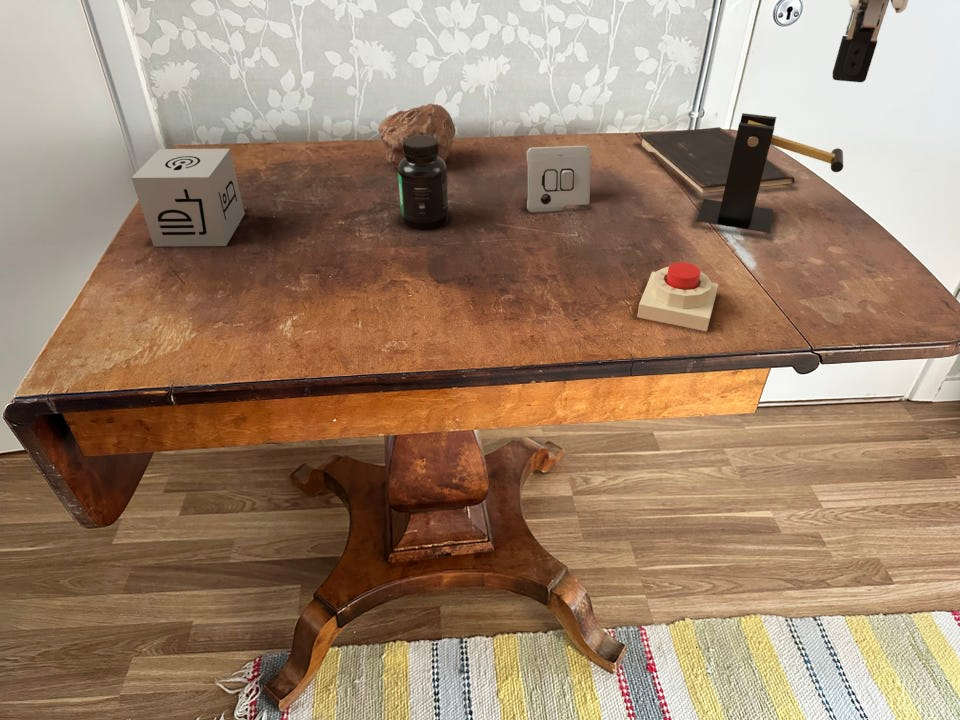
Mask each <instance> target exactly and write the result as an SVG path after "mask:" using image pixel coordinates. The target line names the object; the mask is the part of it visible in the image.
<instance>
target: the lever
mask: <svg viewBox="0 0 960 720" xmlns="http://www.w3.org/2000/svg"><path fill="white" fill-rule="evenodd" d="M747 124H756V125H763V124H760V123H757V122H753V121H750V120H749V121H748V123H747ZM764 126H766V125H764ZM770 146H773V147H777V148H780V149H783V150H787V151H790V152H793V153H796V154H799V155H803V156H805V157H809V158H811V159H814V160H818V161H821V162H823V163H824V162H825V163H827V164H830V170H831V171H832V172H833V173H839V172H842V170H843V168H844V152H843V149H842V148H840V147H839V148H838V147H837V148H834V149H832V150H831V152H830V151H827V150H823V149H820V148H817V147H815V146H814V147H813V146H811V145H807V144H804V143H800V142H797V141H795V140H791V139H788V138H785V137H781V136H778V135H775V134H773V136H772V140H771V144H770Z"/></svg>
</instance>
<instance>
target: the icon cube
mask: <svg viewBox="0 0 960 720" xmlns="http://www.w3.org/2000/svg"><path fill="white" fill-rule="evenodd" d="M131 180H132V183H133V187H134V190H135V193H136V196H137V199H138V203H139V206H140V208H141V212H142V215H143V217H144V221H145V224H146V226H147V230H148V233H149V236H150V239H151V243H152V245H153V246H152V247H154V248H155V247H157V248H158V247H227V246H228V243H229V242H230V240H231V239H232V238H233V235H234V233H235V232H236V230H237V228H238V227H239V225H240V223H241V221H242V220H243V218H244V217H245V215H246V212H245V208H244V204H243V199H242V196H241V190H240V186H239V181H238V177H237V173H236V168H235V165H234V159H233V156H232V150H231V148H158V150H156V152H154V154H152V156H151V157H150V158H148V160H147V161H146V162H145V163H144V164H143V165H142V166H141V167H140V168H139V170H137V171H136V172H135V174H133V176H132V177H131Z"/></svg>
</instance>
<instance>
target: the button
mask: <svg viewBox="0 0 960 720" xmlns="http://www.w3.org/2000/svg"><path fill="white" fill-rule="evenodd" d="M668 267H669V268H668V273H667V279H666V283H667V285H669V286H671V287H673V288H676V289H681V290H692V289H695V288H696V287H697V286H698V282H699V277H700V272H701V270H700V268H698V267H697V266H696V265H695V264H692V263H688V262H675V263H672V264H670V265H669V266H668Z"/></svg>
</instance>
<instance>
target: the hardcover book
mask: <svg viewBox="0 0 960 720" xmlns="http://www.w3.org/2000/svg"><path fill="white" fill-rule="evenodd" d="M639 137H640V138H641V139H642V140H641V145H640V146H641V148H643V149H644V150H645V151H646V152H649V153H655V154H656V155H657V156H658V157H660V158H661V159H662V160H663V161H664V162H666V163H667V164H668V165H669V166H670V167H671V168H672V169H674V170H675V171H676V172H677V173H678V174H679V175H681V176H682V177H683V178H684V180H686V181H687V182H689V183H690V184H691V185H692V186H694V188H696V189H697V190H698V191H699V192H700V193H702V194H707V193H715V192H716V193H717V192H724V189H725V185H726V180H727V176H728V171H729V167H730V162H731V158H732V153H733V149H734V144H735V140H736V136H733V134H731V133H729V132H728V131H726V130H724V128H722V127H720V126H718V127H706V128H697V129H686V130H685V129H684V130H675V131H664V132H663V131H662V132H653V133H642V134H640V135H639ZM794 183H795V177H794V176H792V175H791V174H790V173H788V172H787V171H785V170H784V169H782V168H781V167H779V166H778V165H777V164H775V163H774V162H772V161H771V160H770V159H768V158H767V159H766V163H765V167H764V171H763V175H762V179H761V183H760V187H759V188H761V187H769V186H778V185H788V184H789V185H790V184H794Z"/></svg>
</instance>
